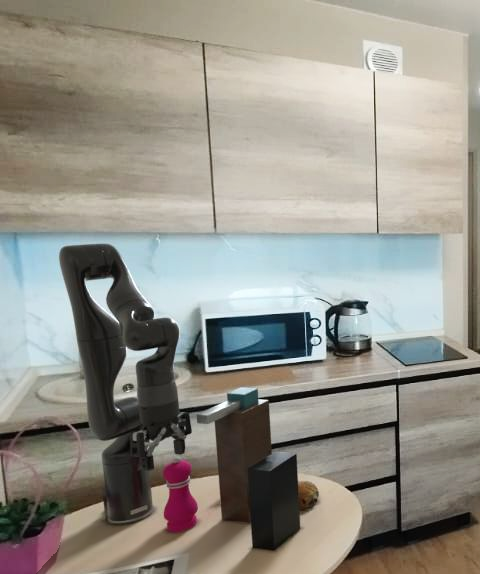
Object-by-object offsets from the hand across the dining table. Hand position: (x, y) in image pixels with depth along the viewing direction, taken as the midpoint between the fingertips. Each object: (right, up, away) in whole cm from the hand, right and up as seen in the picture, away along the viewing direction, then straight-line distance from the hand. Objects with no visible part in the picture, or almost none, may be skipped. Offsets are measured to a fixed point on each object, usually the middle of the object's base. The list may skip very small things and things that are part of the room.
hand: (164, 461), depth 142 cm
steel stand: (+22, -23, +10) cm, 33 cm away
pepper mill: (-6, -22, +13) cm, 26 cm away
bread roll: (+18, -21, +27) cm, 38 cm away
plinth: (+7, -21, +21) cm, 30 cm away
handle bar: (+8, +10, +11) cm, 17 cm away
